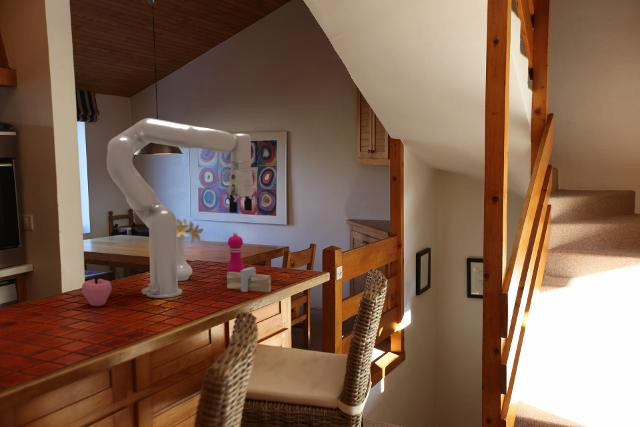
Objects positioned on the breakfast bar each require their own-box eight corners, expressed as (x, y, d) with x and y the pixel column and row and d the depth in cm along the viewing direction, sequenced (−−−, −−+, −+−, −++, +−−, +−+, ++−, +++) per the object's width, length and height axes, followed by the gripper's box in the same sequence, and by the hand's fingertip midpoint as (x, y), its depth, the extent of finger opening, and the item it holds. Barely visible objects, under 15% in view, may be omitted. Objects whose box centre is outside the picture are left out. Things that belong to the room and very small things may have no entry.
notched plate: (241, 291, 217) (240, 270, 217) (251, 287, 224) (251, 267, 223) (245, 292, 216) (245, 270, 216) (255, 288, 223) (255, 267, 222)
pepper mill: (247, 279, 239) (246, 230, 237) (242, 283, 232) (242, 233, 230) (229, 279, 240) (228, 230, 238) (225, 283, 232) (223, 232, 230)
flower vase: (194, 284, 231) (192, 220, 228) (154, 281, 237) (152, 219, 234) (210, 277, 243) (209, 217, 241) (172, 275, 249) (170, 216, 246)
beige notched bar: (268, 292, 215) (267, 276, 215) (227, 288, 223) (226, 272, 223) (270, 291, 217) (270, 275, 216) (230, 287, 225) (229, 271, 224)
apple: (117, 304, 199) (116, 275, 198) (96, 310, 192) (94, 280, 191) (98, 301, 204) (97, 272, 203) (77, 306, 197) (75, 277, 196)
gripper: (235, 166, 212) (235, 213, 214) (261, 166, 228) (261, 210, 229) (218, 166, 216) (219, 212, 217) (245, 166, 231) (245, 209, 233)
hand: (240, 211), depth 223 cm, fingers open, 9 cm apart
